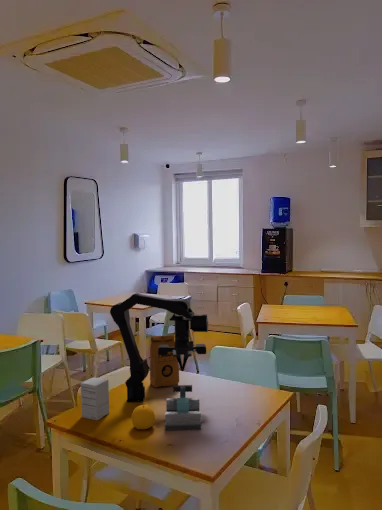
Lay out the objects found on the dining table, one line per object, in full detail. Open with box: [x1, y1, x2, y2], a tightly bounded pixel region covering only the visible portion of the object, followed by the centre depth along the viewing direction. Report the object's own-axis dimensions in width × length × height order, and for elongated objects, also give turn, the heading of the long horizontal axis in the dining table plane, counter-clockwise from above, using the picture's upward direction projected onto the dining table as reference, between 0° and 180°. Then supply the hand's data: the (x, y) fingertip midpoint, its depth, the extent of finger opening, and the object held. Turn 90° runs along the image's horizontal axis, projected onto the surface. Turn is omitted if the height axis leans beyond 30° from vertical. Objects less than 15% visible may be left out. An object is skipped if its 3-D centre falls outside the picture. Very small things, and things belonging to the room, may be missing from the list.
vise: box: [164, 408, 202, 431], centre depth 152 cm, size 12×18×5 cm, turn 1°
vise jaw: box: [166, 384, 200, 411], centre depth 159 cm, size 12×6×7 cm, turn 91°
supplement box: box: [80, 377, 110, 421], centre depth 156 cm, size 7×7×13 cm
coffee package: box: [149, 334, 180, 388], centre depth 188 cm, size 10×12×22 cm
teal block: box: [176, 397, 189, 412], centre depth 149 cm, size 5×4×6 cm
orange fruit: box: [130, 404, 156, 430], centre depth 145 cm, size 8×8×8 cm
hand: (182, 371), depth 168 cm, fingers closed
